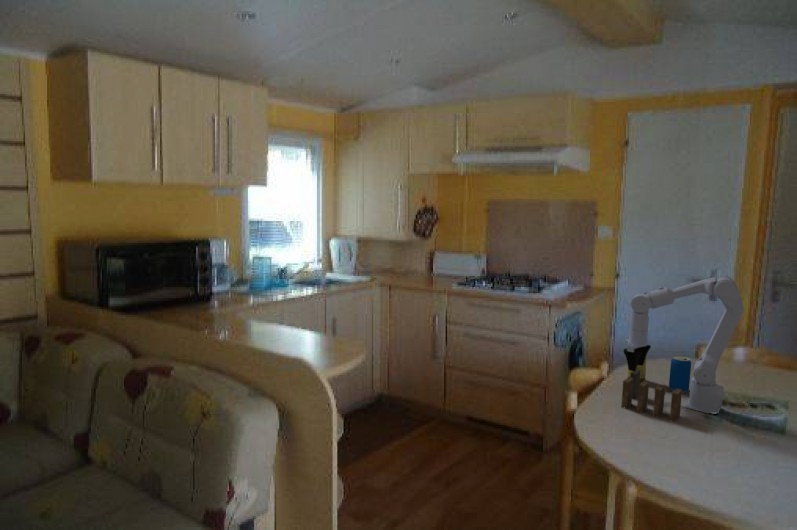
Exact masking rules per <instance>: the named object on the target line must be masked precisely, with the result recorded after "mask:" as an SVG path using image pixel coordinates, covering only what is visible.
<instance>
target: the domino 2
mask: <svg viewBox="0 0 797 530" xmlns="http://www.w3.org/2000/svg"><path fill="white" fill-rule="evenodd" d="M630 378H634V379H633V392H632V400H634V399H635V397H636V396H637V397H638V391H639V384H640V383H639V382H640V370H637V369H636V371H633V372H631V376H630ZM637 397H636V398H637Z"/></svg>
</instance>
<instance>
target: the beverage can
mask: <svg viewBox="0 0 797 530" xmlns="http://www.w3.org/2000/svg"><path fill="white" fill-rule="evenodd" d="M669 368H670V369H669V378H668V379H669V380H668V388H669V389H670V390H671V391H672V392H673V391H674V390H675V389H682V394H685V393H688V392H690V385H691V371H692V361H691V358H689V357H687V356H684V355H683V356H682V355H673V356H672V358H671V360H670V367H669Z"/></svg>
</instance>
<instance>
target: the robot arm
mask: <svg viewBox="0 0 797 530" xmlns="http://www.w3.org/2000/svg"><path fill="white" fill-rule="evenodd" d="M713 293H714V296H716V297H717V298H718V299H719V300H720V301H721V302H722V304H723V306H724V308H725V309H724V310H723V313H722V315H721V317H720V319H719V320H718V323H717V325H716V328H715V330H714V332H713V333H712V336H711V338H710V340H709V342H708V344H707V346H706V348H705V350H704V351H703V353H702V354H701V356H700V357H699V358H698V359H697V360H695V362H694V363H693V366H692V368H693V376H692V377H690V385H689V397H688V398H689V399H688V402H687V403H686V404H685V406H684V408H686V409H690V410H693V411H697V412H702V413H706V414H709V413H711V412H718V410H719V408H721V407H722V408H723V399H724V386H723V385H721V384H718V383H717V381H716V379H717V374H716V372H717V369H718V366H719V364H720V363H719V362H720V359H721V357H722V355H723V353H724V351H725V349H726V348H727V345H728V344H729V342H730V340H731V338H732V335H733V333H734V331H735V329H736V327H737V325H738V323H739V321H740V319H741V317H742V315H743V313H744V311H745V308H744V303H743V299H742V296H741V290H740V289H739V286H738V285H737V284H736V282H735V281H734V280H733V279H732V277H730V276H727V275H719V276H717V277H710V278H709V277H708V278H705V279H702V280H701V279H700V280H698V281H695V282H691V283H688V284H686V285H683V286H679V287H676V288H673V289H672V288H670V287H668V286H666V287H663V286H659V287H658V288H657V289H655V290H651V291H644V292H643V293H638V294H636V295H634V296H633V298H632V300H631V301H630V305H631V307H630V308H631V311H630V313H631V314H630V317H629V318H630V320H629V322H630V323H629V333H628V334H629V335H628V338H626V339H625V340H624V342H625V343H627V347H626V348H624V349H623V350H622V351H623V354H624V356H625V358H626V361H627V370H628V369H629V370H631V371H636V368H637V365H641V366H643V364H644V361H645V358H646V359H647V354H648V352H649V350H650V349H651V347H652V346H651V345H650V344H648V334H649V333H648V332H649V320H650V319H649V318H650V316H649V310H650V309H652V310H653V309H657V308H661V307H665V306H669V305H672V304H673V303H674V302H675V300H676V299H680V298H684V297H688V296H692V295H697V294H705V295H709V296H713Z"/></svg>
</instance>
